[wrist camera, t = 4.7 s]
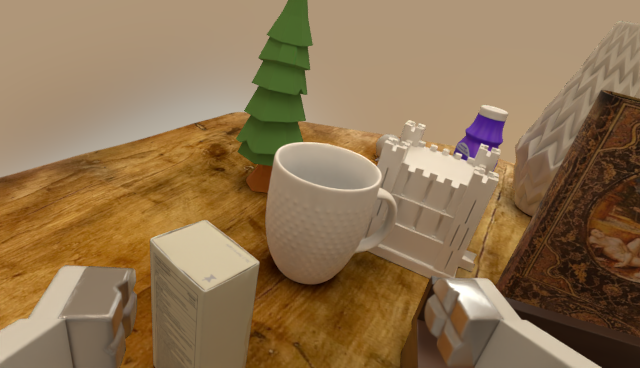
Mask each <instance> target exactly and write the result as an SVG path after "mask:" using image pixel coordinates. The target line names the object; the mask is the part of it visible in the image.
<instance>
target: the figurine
mask: <svg viewBox="0 0 640 368" xmlns="http://www.w3.org/2000/svg"><path fill="white" fill-rule="evenodd" d="M390 137H392V138H395V139H398V142H397V145H398V144H399V140H400V139H399V138H398V137H397V136H395V135H392V134H386V135H383V136H382V137H380V138H379V139H378V141H377V143H376V155H378V156H379V158H380V155H381V152H382V149H383V145H384V142H385V141H386V140H388V139H389V138H390ZM379 158H378V159H375V161H379Z"/></svg>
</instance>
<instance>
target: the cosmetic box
mask: <svg viewBox="0 0 640 368" xmlns="http://www.w3.org/2000/svg"><path fill="white" fill-rule="evenodd" d="M150 258H151V293H152V329H153V364H154V366H155V368H245V365H246V358H247V351H248V343H249V336H250V329H251V321H252V314H253V306H254V299H255V292H256V284H257V277H258V270H259V261H258V260H257V259H255V258H254V257H253V256H252V255H251V254H250V253H248V252H247V251H246V250H244V249H243V248H242V247H241V246H239V245H238V244H237V243H236V242H234V241H233V240H232V239H230V238H229V237H228V236H227V235H225V234H224V233H223V232H222V231H220V230H219V229H217V228H216V227H215V226H214V225H212V224H211V223H210V222H208V221H207V220H202V221H199V222H196V223H194V224H190V225H187V226H184V227H182V228H179V229H176V230H173V231H170V232H167V233H164V234H161V235H158V236H156V237H153V238H151V239H150Z"/></svg>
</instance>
